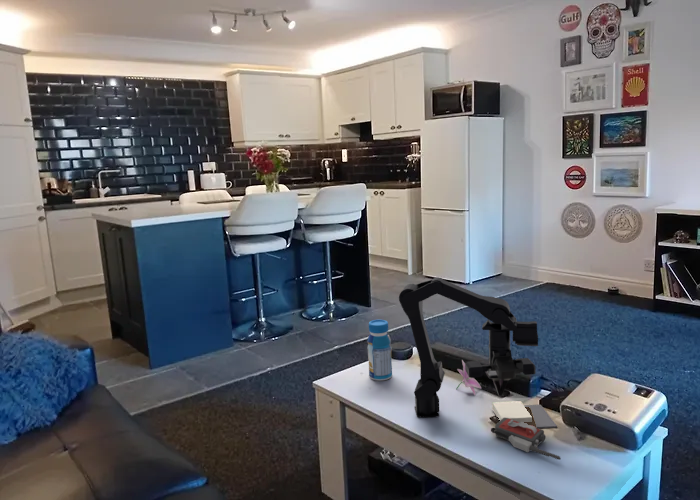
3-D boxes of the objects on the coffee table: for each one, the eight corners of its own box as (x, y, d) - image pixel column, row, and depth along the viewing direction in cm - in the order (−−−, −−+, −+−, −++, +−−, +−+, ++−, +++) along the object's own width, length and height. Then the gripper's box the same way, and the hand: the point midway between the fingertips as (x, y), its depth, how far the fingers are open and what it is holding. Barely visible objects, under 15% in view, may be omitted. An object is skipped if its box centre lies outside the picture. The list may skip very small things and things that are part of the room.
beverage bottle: (383, 383, 183) (381, 327, 180) (363, 378, 189) (361, 323, 185) (397, 374, 190) (395, 320, 186) (378, 369, 195) (375, 317, 192)
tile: (502, 418, 150) (532, 417, 150) (492, 402, 160) (520, 400, 160) (502, 426, 151) (532, 424, 151) (492, 409, 161) (520, 407, 161)
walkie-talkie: (486, 438, 146) (558, 465, 132) (485, 423, 145) (558, 449, 131) (502, 424, 152) (573, 449, 138) (502, 409, 151) (573, 433, 137)
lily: (460, 403, 168) (474, 381, 166) (438, 380, 176) (451, 359, 173) (480, 402, 176) (494, 381, 173) (458, 380, 183) (471, 360, 181)
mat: (506, 429, 149) (506, 428, 149) (494, 408, 162) (494, 406, 162) (557, 427, 149) (557, 425, 149) (540, 405, 162) (540, 404, 162)
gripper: (473, 356, 144) (474, 410, 147) (542, 352, 144) (542, 406, 147) (464, 342, 155) (465, 392, 158) (528, 338, 155) (528, 389, 158)
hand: (500, 395), depth 155 cm, fingers closed
